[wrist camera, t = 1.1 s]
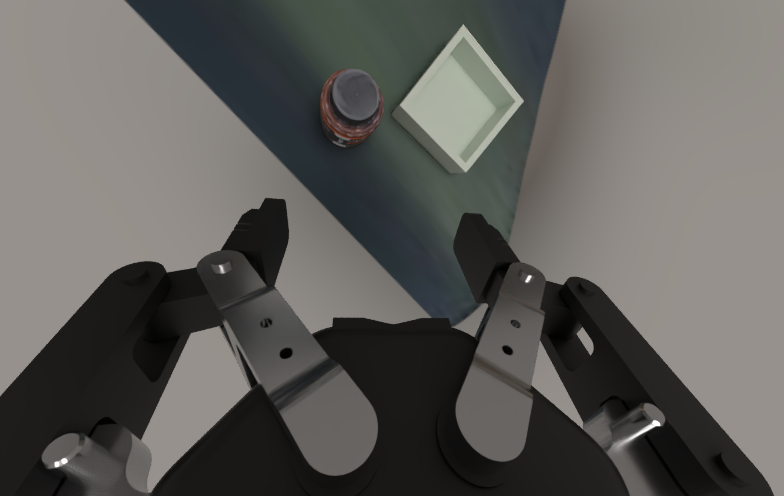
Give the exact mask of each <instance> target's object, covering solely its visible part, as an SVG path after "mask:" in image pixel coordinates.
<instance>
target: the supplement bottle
mask: <svg viewBox="0 0 784 496" xmlns="http://www.w3.org/2000/svg"><path fill="white" fill-rule="evenodd" d="M383 107H384V104H383V97H382V94H381V91H380V89H379V87H378V85H377V84H376V82H375V81H374V79H373V78H372V77H371V76H370V75H369V74H368V73H367V72H365V71H363V70H360V69H342V70H339V71H337V72H335V73H334V74H332V75H331V76H330V77H329V78H328V79H327V81H326V82H325V84H324V86H323V89H322V92H321V98H320V120H321V125H322V129H323V131H324V133H325V135H326V137H327V138H328V139H329V140H330V141H331V142H333V143H334V144H336V145H337V146H340V147H345V148H351V147H355V146H357V145H359V144H361V143H363V142H364V141H365V140H366V138H367V137H368V136H369V135H370V134H371V133H372V132H373V131H374V130H375V129H376V128H377V126H378V125H379V123H380V121H381V119H382V116H383Z"/></svg>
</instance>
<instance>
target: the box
mask: <svg viewBox="0 0 784 496" xmlns="http://www.w3.org/2000/svg"><path fill="white" fill-rule="evenodd" d="M522 103H523V100H522V98H521V97H520V96H519V95H518V93H517V92H516V91H515V89H514V88H513V87H512V86H511V84H510V83H509V82H508V81H507V79H506V78H505V77H504V75H503V74H502V73H501V72H500V70H499V69H498V68H497V67H496V65H495V64H494V63H493V62H492V60H491V59H490V58H489V56H488V55H487V54H486V53H485V51H484V50H483V49H482V48H481V46H480V45H479V44H478V42H477V41H476V40H475V39H474V37H473V36H472V35H471V34H470V32H469V31H468V30H467V29H466V27H465V26H464V25H463V26H462V27H461V28H460V29H459V30H458V31H457V32H456V34H455V35H454V36H453V37H452V38H451V39H450V40H449V42H448V43H447V44H446V45H445V46H444V48H443V49H442V50H441V51H440V53H439V54H438V55H437V57H436V58H435V59H434V60H433V62H432V63H431V64H430V65H429V67H428V68H427V69H426V70H425V72H424V73H423V74H422V76H421V77H420V78H419V79H418V81H417V82H416V83H415V84H414V86H413V87H412V88H411V89H410V91H409V92H408V93H407V95H406V96H405V97H404V98H403V100H402V101H401V102H400V103H399V105H398V106H397V107H396V109H395V110H394V111H393V112H392V114H391V116H392V117H393V118H394V119H395V120H396V121H397V122H398V123H399V124H400V125H401V126H402V127H403V128H404V129H405V130H407V131H408V132H409V133H410V134H411V135H412V136H413V137H414V138H415V139H416V140H417V141H418V142H419V143H420V144H421V145H422V146H423V147H424V148H425V149H426V150H427V151H428V152H429V153H430V154H431V155H432V156H433V157H434V158H435V159H436V160H437V161H438V162H439V163H440V164H441V165H442V166H443V167H444V168H445V169H446V170H447V171H448V172H449V173H450V174H454V173H466V172H467V171H468V170H469V168H470V167H471V166H472V165H473V163H474V162H475V161H476V160H477V158H478V157H479V156H480V155H481V153H482V152H483V151H484V150H485V148H486V147H487V146H488V145H489V143H490V142H491V141H492V140H493V139H494V137H495V136H496V135H497V134H498V132H499V131H500V130H501V129H502V127H503V126H504V125H505V124H506V122H507V121H508V120H509V119H510V117H511V116H512V115H513V114H514V112H515V111H516V110H517V109H518V108H519V106H520V105H521V104H522Z"/></svg>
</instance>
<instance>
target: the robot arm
mask: <svg viewBox="0 0 784 496" xmlns="http://www.w3.org/2000/svg"><path fill="white" fill-rule="evenodd" d="M288 239H289V228H288V219H287V209H286V202H285V200H284V199H272V198H265V200H264V202H263V203H262V205H261V207H260V209H251V210H249V211H248V212H246V213H245V214H243V215H242V217H241V218H240V220H239V221H238V224H237V225H236V226H235V228H234V231H232V233H231V235H230V236H229V238H228V239H227V241H226V243H225V244H224V246H223V247H222V249H221V251H217V252H214V253H211V254H209V255H207V256H205V257H204V258H202V259H201V260H200V261H199V262H198V264H197V267H196V268H191V269H186V270H180V271H174V272H168V273H167V272H166V270H165V268H164V267H163V265H162V264H159V263H157V262H150V261H144V262H137V263H133V264H129V265H127V266H124V267H122V268H120V269H118V270H116V271H114V272H113V273H112V274H110V275H109V276H108V277H107V278H106V279H105V280H104V282H103V283H102V284H101V285H100V286H99V287H98V288H97V289H96V290H95V292H94V293H93V294H92V295H91V296H90V297H89V298H88V299H87V301H86V302H85V303H84V304H83V305H82V306H81V307H80V308H79V309H78V310H77V312H76V313H75V314H74V315H73V316H72V317H71V318H70V320H69V321H68V322H67V323H66V324H65V325H64V326H63V327H62V328H61V329H60V330H59V332H58V333H57V334H56V335H55V336H54V337H53V338H52V339H51V340H50V342H49V343H48V344H47V345H46V346H45V347H44V348H43V350H41V352H40V353H39V354H38V355H37V356H36V357H35V358H34V359H33V361H32V362H31V363H30V364H29V365H28V366H27V367H26V368H25V369H24V371H23V372H22V373H21V374H20V375H19V376H18V377H17V378H16V379H15V380H14V382H13V383H12V384H11V385H10V386H9V387H8V388H7V389H6V391H5V392H4V393H3V394H2V395H1V396H0V496H774V495H773V492H772V490H771V488H770V486H769V484H768V483H767V481H766V480H765V478H764V477H763V475H762V474H761V473H760V472H759V470H758V469H757V468H756V467H755V466H754V465H753V463H752V462H751V461H750V460H749V459H748V458H747V457H746V455H745V454H744V453H743V452H742V451H741V450H740V448H739V447H738V446H737V445H736V444H735V443H734V442H733V440H732V439H731V438H730V437H729V436H728V435H727V434H726V432H725V431H724V430H723V429H722V428H721V427H720V425H719V424H718V423H717V422H716V421H715V420H714V419H713V417H712V416H711V415H710V414H709V413H708V412H707V411H706V409H705V408H704V407H703V406H702V405H701V404H700V402H699V401H698V400H697V399H696V398H695V397H694V395H693V394H692V393H691V392H690V391H689V390H688V388H687V387H686V386H685V385H684V384H683V383H682V382H681V380H680V379H679V378H678V377H677V376H676V375H675V374H674V372H672V370H671V369H670V368H669V367H668V365H667V364H666V363H665V362H664V361H663V360H662V359H661V357H660V356H659V355H658V354H657V353H656V352H655V350H654V349H653V348H652V347H651V346H650V345H649V344H648V342H647V341H646V340H645V339H644V338H643V337H642V335H641V334H640V333H639V332H638V331H637V330H636V329H635V327H634V326H633V325H632V324H631V323H630V322H629V321H628V319H627V318H626V317H625V316H624V315H623V314H622V312H621V311H620V310H619V309H618V308H617V307H616V306H615V304H614V303H613V302H612V301H611V300H610V299H609V297H608V296H607V295H606V294H605V293H604V292H603V291H602V290H601V289H600V288H599V287H598V286H597V285H595V284H594V283H592V282H590V281H589V280H586V279H583V278H580V277H570V278H568V279H567V281H566V282H565V284H564V285H560V284H557V283H553V282H549V281H546V279H545V277H544V275H543V274H542V273H541V272H540V271H539V270H537V269H536V268H535V267H533V266H531V265H528V264H525V263H521V262H520V261H519V259H518V258H517V257H516V255H515V254H514V252H513V251H512V249H511V248H510V246H508V244H507V242H506V241H505V240H504V238H503V236H502V235H501V234H500V232H499V231H498V230H497V229H495V228H494V227H493V226H491V225H489V224H488V223H487V221H486V220H485V219H484V217H483V216H482V214H476V213H464V214H463V216H462V218H461V221H460V224H459V227H458V230H457V233H456V236H455V239H454V245H453V248H454V253H455V255H456V257H457V260H458V262H459V264H460V266H461V269H462V271H463V273H464V276H465V278H466V280H467V283H468V285H469V287H470V289H471V292H472V294H473V296H474V299H475V301H476V303H487V304H488V308H487V310H486V312H485V314H484V317H483V319H482V321H481V324H480V326H479V328H478V330H477V333H476V335H475V337H473V336H471V335H469V334H467V333H465V332H463V331H461V330H458V329H455V328H451V325H450V322H449V318H420V319H416V320H412V321H407V322H403V323H399V324H388V323H384V322H379V321H375V320H371V319H366V318H333V326H332V327H330V328H325V329H323V330H320V331H318V332H315V333H313V334H311V333H310V332H309V331H308V329H307V328H306V327H305V325H304V324H303V323H302V322H301V320H300V319H299V317H298V316H297V315H296V314H295V312H294V311H293V310H292V308H291V307H290V306H289V305H288V303H287V302H286V301H285V300H284V298H283V297H282V295H281V294H280V293H279V291H278V290H277V289H276V288H275V287H274V285H275V282H276V279H277V276H278V273H279V269H280V266H281V263H282V260H283V257H284V254H285V251H286V248H287V244H288ZM217 326H219V328H220V330H221V332H222V333H223V335H224V338H225V339H226V341H227V343H228V345H229V347H230V349H231V351H232V353H233V355H234V357H235V359H236V360H237V363H238V364H239V367H240V369H241V371H242V373H243V376H244V378H245V380H246V382H247V384H248V386H249V388H250V391H249V392H248V393H247V394H246V395H245V396H244V397H243V398H242V399H241V400H240V401H239V402H238V403H237V404H236V405H235V406H234V407H233V408H231V409H230V410H229V412H227V413H226V414H225V415H224V416H223V417H222V418H221V419H220V420H219V421H218V422H217V423H216V424H215V425H214V426H213V427H212V428H211V429H210V430H209V431H208V432H207V433H206V434H205V435H204V436H203V437H202V438H201V439H200V440H199V441H197V442H196V443H195V444H194V445H193V446H192V447H191V448H190V449H189V450H188V451H187V452H186V453H185V454H184V455H183V456H182V457H181V458H180V459H179V460H178V461H177V462H176V463H175V464H174V465H173V466H172V467H171V468H170V469H169V470H168V471H167V472H166V473H165V475H164V476H163V477H162V478H161V480H160V481H159V482H158V483H157V485H156V486H155V488H154V489H153V491H152V492H151V493H148V490H147V478H148V474H149V470H150V467H151V460H152V458H151V452H150V450H149V448H148V447H147V446H146V445H145V444H144V443H143V442H141V439H142V437H143V434H144V432H145V430H146V428H147V426H148V424H149V422H150V419H151V417H152V415H153V413H154V411H155V409H156V406H157V404H158V402H159V400H160V398H161V396H162V394H163V392H164V389H165V387H166V385H167V383H168V380H169V378H170V377H171V374H172V372H173V370H174V368H175V366H176V363H177V362H178V359H179V357H180V355H181V353H182V351H183V349H184V346H185V344H186V342H187V340H188V338H189V336H190V334H191V333H193V332H197V331H201V330H205V329H209V328H213V327H217ZM582 327H583V328H584V329H585V331H586V332H587V334H588V335H589V337H590V338H591V340H592V342H593V345H594V350H593V353H592V355H591V356H590V354H589V353H588V351H587V350H586V348H585V347H584V345H583V344H582V342H581V341H580V339H579V338H578V336H577V332H578V331H579V330H580V329H581V328H582ZM539 341H541V343H542V344H543V346H544V348H545V350H546V352H547V354H548V356H549V358H550V360H551V361H552V364H553V365H554V367H555V369H556V371H557V373H558V375H559V377H560V379H561V381H562V382H563V384H564V386H565V388H566V390H567V392H568V394H569V396H570V398H571V400H572V402H573V403H574V405H575V407H576V409H577V411H578V413H579V415H580V417H581V419H582V421H583V429H582V428H581V427H580V426H578V425H577V424H576V423H575V422H574V421H572V420H571V419H570V418H569V417H568V416H567V415H565V414H564V413H563V412H562V411H561V410H560V409H558V408H557V407H556V406H555V405H554V404H553V403H551V402H550V401H549V400H548V399H547V398H546V397H544V396H543V395H542V394H541V393H540V392H539V391H537V390H536V389H535V388H534V387H533V386H532V385H531V383H532V377H533V373H534V368H535V362H536V357H537V352H538V347H539Z"/></svg>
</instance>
